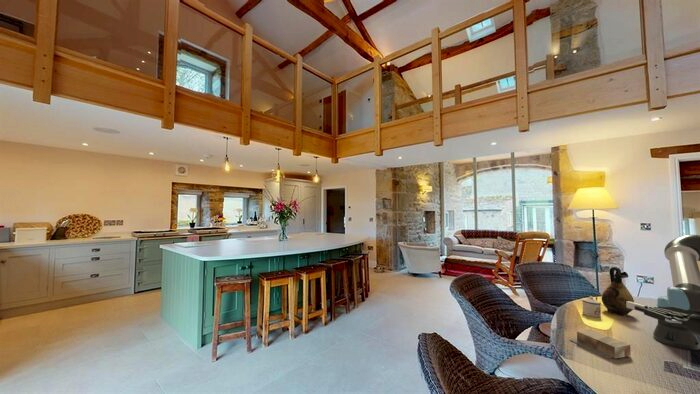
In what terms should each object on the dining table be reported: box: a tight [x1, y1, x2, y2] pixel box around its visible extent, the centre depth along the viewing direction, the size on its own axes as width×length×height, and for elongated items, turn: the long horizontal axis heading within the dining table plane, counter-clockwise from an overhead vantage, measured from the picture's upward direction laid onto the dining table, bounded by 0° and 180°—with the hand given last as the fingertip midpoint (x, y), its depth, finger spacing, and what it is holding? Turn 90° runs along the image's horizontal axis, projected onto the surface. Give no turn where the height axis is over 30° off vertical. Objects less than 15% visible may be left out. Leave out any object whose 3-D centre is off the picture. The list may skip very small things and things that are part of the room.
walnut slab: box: [576, 329, 632, 359], centre depth 129 cm, size 5×10×16 cm
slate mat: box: [569, 337, 614, 359], centre depth 131 cm, size 17×14×1 cm
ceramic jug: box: [601, 266, 635, 317], centre depth 176 cm, size 17×15×30 cm
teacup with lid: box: [581, 296, 602, 318], centre depth 173 cm, size 12×9×12 cm
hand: (627, 304), depth 120 cm, fingers closed
